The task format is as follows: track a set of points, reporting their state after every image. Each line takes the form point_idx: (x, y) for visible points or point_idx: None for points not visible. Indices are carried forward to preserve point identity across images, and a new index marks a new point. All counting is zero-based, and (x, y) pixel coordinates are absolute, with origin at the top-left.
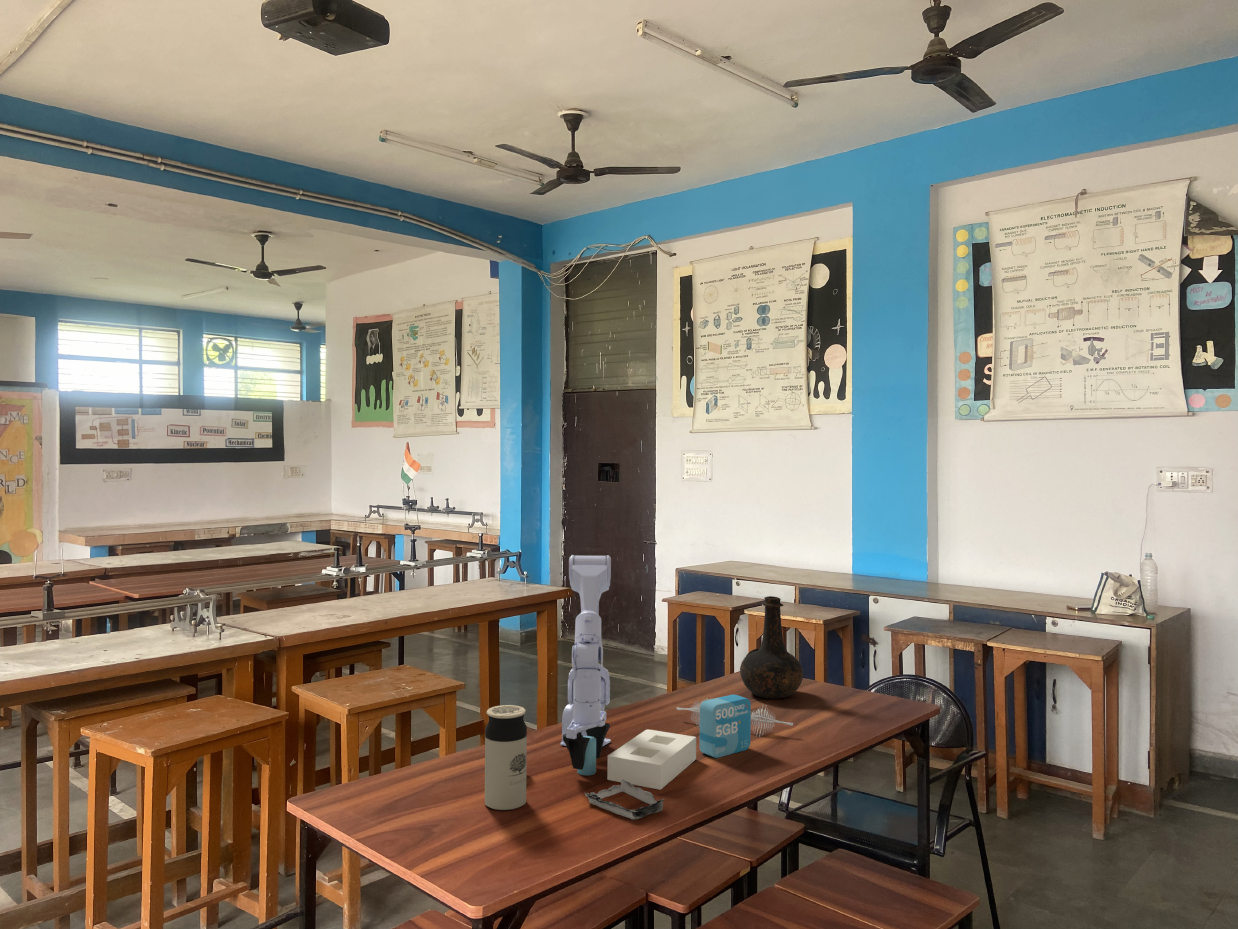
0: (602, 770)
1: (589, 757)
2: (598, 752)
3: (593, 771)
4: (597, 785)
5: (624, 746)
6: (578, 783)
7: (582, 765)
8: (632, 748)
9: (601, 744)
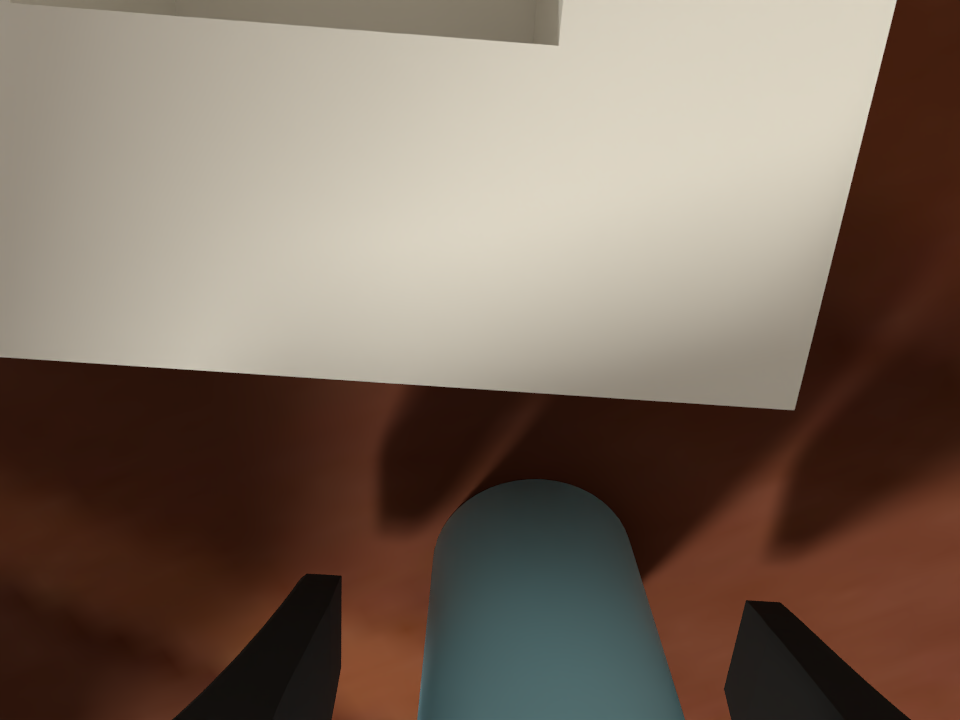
0: (415, 444)
1: (651, 650)
2: (324, 629)
3: (571, 501)
4: (880, 324)
5: (165, 315)
6: (867, 519)
7: (809, 630)
8: (184, 111)
9: (276, 687)
